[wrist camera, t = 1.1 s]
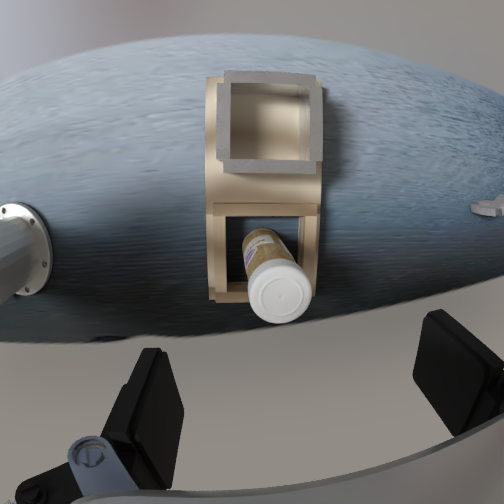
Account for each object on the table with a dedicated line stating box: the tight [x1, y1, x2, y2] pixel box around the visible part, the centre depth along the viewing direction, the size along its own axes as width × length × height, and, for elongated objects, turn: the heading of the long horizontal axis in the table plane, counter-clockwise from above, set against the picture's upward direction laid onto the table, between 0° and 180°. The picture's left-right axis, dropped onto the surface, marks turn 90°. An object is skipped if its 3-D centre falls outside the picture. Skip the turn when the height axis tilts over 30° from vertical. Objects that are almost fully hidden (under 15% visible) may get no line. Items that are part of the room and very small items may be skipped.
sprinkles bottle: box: [242, 228, 312, 323], centre depth 28 cm, size 5×4×14 cm
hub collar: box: [216, 71, 323, 174], centre depth 27 cm, size 9×9×4 cm
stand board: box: [205, 77, 322, 303], centre depth 31 cm, size 24×12×3 cm, turn 0°
